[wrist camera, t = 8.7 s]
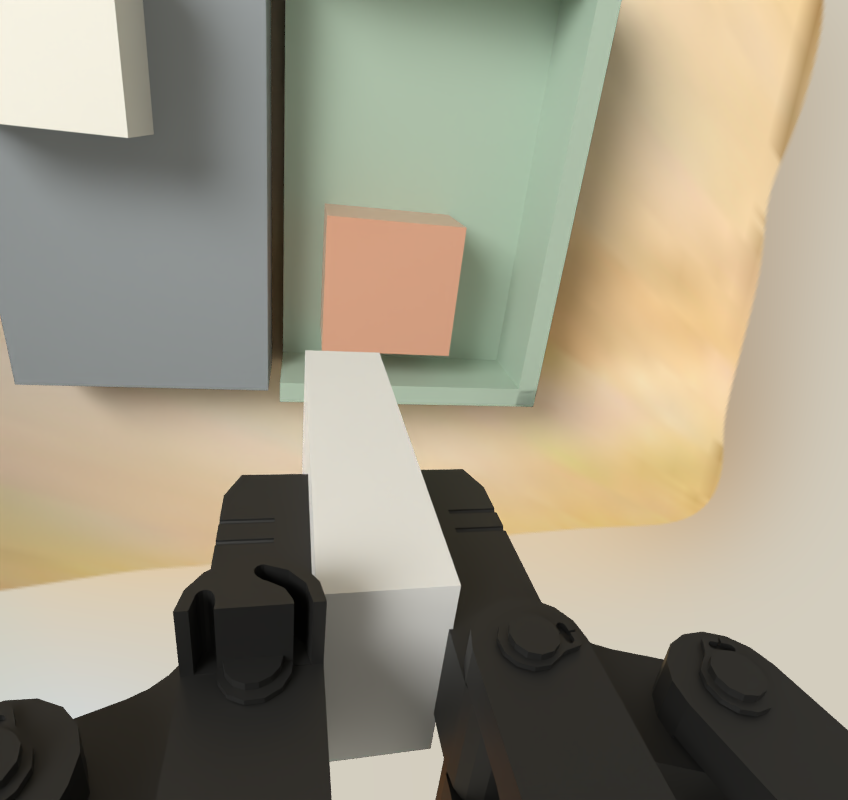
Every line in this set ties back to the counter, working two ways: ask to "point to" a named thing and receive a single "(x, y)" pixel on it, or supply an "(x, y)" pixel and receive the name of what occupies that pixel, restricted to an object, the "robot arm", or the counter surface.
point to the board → (150, 221)
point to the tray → (444, 165)
